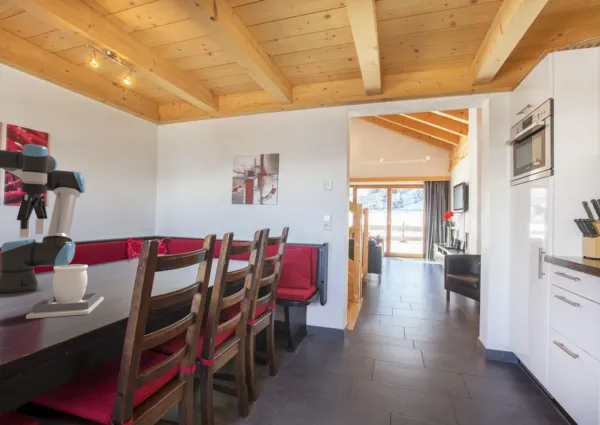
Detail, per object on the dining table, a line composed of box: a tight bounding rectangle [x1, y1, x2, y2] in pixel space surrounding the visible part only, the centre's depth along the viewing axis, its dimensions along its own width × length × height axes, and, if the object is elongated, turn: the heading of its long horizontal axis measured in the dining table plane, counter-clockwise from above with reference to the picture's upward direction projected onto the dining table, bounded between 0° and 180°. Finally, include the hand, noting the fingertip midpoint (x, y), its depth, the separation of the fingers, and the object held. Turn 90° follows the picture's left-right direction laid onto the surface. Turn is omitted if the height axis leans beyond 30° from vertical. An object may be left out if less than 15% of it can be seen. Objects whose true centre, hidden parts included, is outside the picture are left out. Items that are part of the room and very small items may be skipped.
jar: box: [52, 263, 89, 304], centre depth 113 cm, size 11×10×15 cm
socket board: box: [25, 292, 105, 320], centre depth 112 cm, size 20×18×4 cm
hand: (32, 235), depth 118 cm, fingers open, 13 cm apart
